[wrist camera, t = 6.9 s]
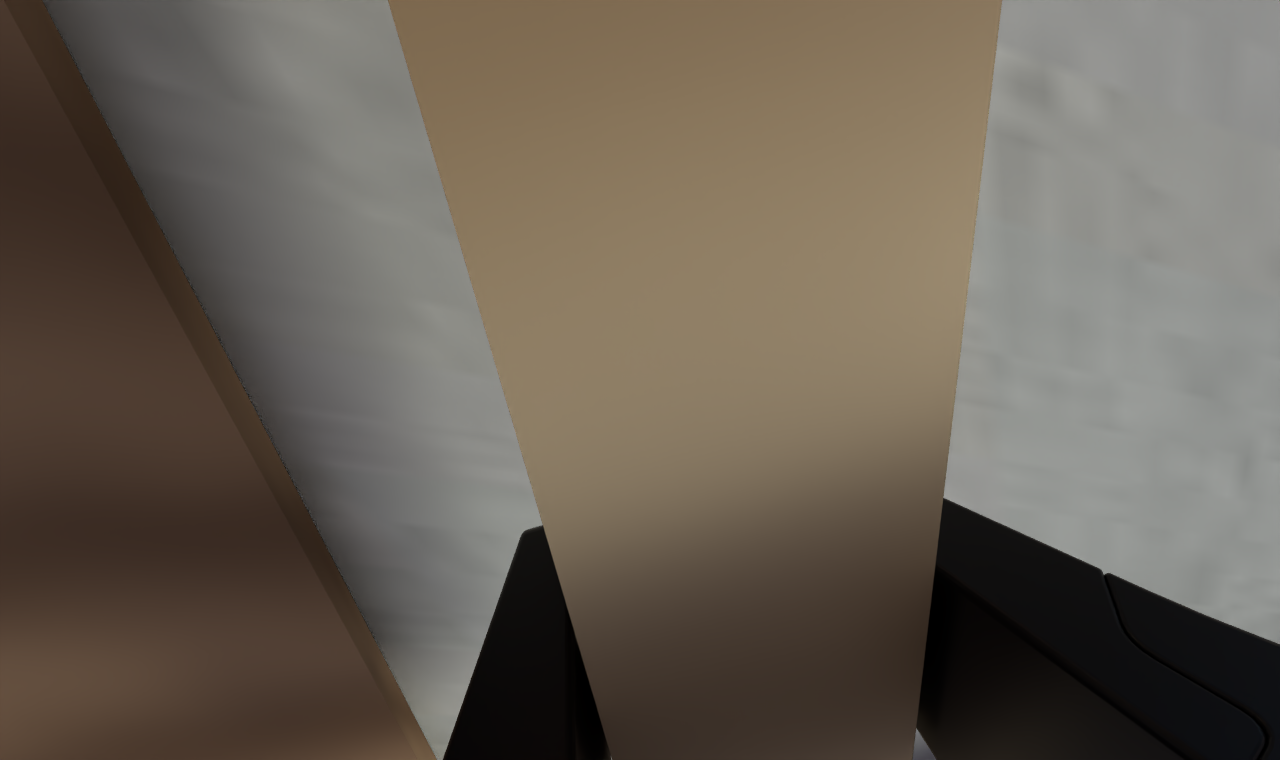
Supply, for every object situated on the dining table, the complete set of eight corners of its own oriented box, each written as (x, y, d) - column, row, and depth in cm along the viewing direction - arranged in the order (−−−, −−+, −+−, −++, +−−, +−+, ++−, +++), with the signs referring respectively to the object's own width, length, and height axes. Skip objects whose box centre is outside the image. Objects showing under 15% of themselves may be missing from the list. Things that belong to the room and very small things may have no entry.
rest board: (456, 797, 20) (457, 832, 20) (120, 910, 19) (106, 953, 18) (-160, -386, 8) (-231, -429, 7) (-1286, -291, 6) (-1541, -326, 6)
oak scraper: (777, 745, 14) (886, 984, 11) (633, 796, 14) (701, 1061, 11) (702, -372, 6) (1102, -836, 2) (318, -330, 5) (147, -820, 2)
